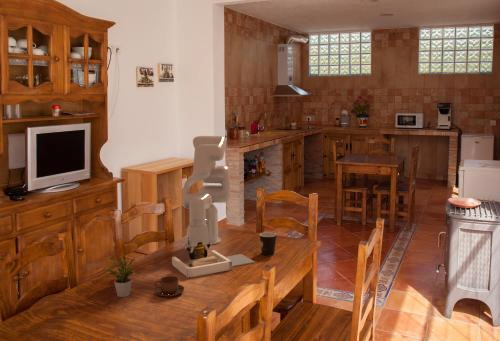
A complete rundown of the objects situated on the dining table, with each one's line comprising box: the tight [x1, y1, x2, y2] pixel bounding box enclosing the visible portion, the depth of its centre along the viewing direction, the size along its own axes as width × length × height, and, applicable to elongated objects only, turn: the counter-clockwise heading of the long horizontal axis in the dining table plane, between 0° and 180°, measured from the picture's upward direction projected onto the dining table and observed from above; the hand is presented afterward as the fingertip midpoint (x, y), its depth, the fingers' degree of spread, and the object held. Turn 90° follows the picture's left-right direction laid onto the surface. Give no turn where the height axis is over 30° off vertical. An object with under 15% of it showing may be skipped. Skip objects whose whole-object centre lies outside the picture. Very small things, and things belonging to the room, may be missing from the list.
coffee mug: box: [259, 231, 277, 256], centre depth 278 cm, size 12×9×10 cm
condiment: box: [185, 242, 205, 268], centre depth 258 cm, size 7×8×12 cm
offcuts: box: [190, 256, 220, 267], centre depth 252 cm, size 5×14×5 cm, turn 123°
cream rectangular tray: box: [171, 249, 233, 279], centre depth 256 cm, size 20×22×4 cm
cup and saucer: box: [154, 275, 185, 297], centre depth 224 cm, size 12×12×6 cm
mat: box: [225, 253, 256, 268], centre depth 265 cm, size 14×12×1 cm
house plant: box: [104, 255, 140, 298], centre depth 223 cm, size 14×14×16 cm
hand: (198, 258), depth 259 cm, fingers closed on condiment, 6 cm apart
